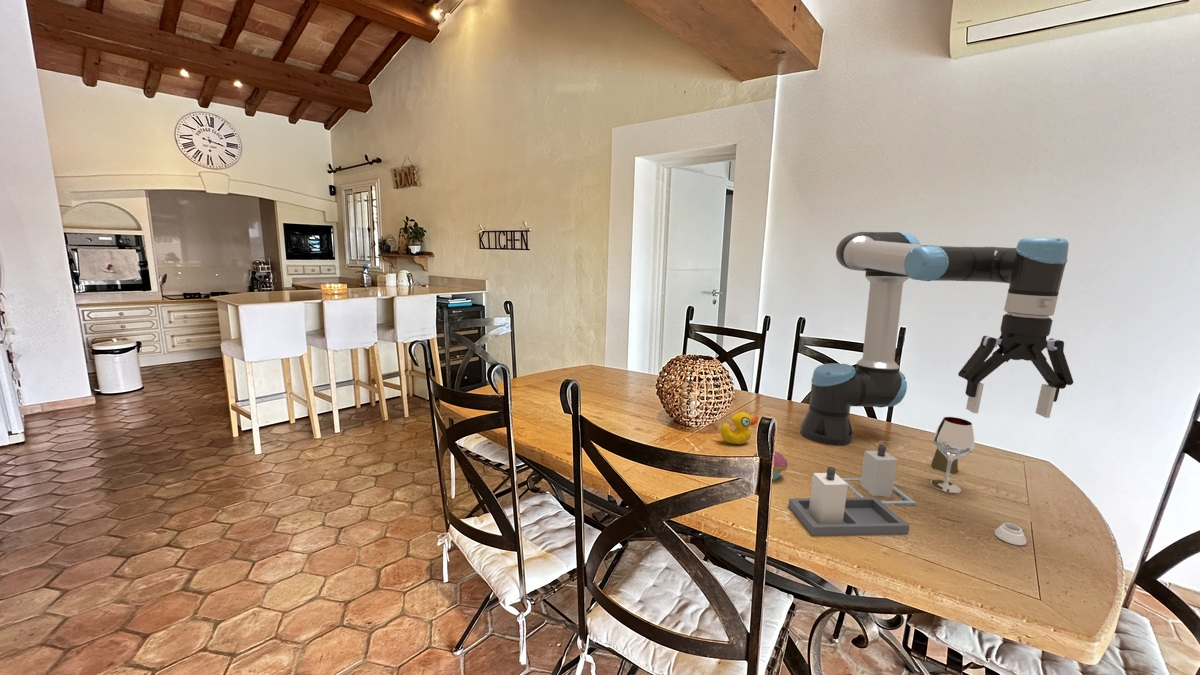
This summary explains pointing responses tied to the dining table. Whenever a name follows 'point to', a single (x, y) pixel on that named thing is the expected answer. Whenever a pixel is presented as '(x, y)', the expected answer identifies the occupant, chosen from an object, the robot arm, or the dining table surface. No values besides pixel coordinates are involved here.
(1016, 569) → the dining table surface
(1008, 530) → the white short tapered ring
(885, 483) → the white block with peg
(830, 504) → the white plug
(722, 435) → the duckling
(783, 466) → the cupcake
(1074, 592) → the dining table surface
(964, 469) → the dining table surface
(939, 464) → the cork
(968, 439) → the wineglass
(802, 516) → the two-slot grey rack
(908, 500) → the square frame
